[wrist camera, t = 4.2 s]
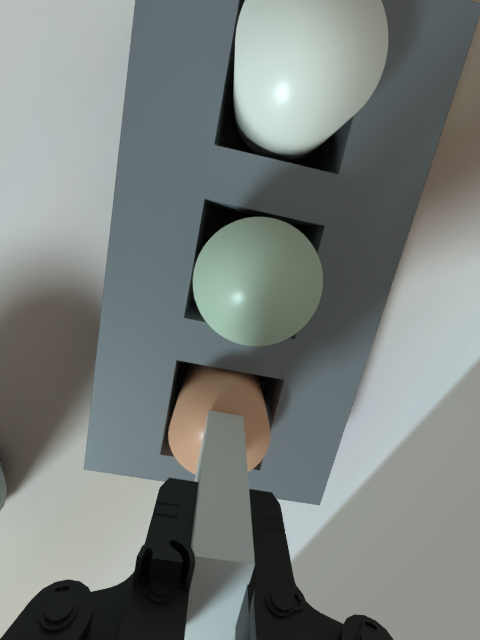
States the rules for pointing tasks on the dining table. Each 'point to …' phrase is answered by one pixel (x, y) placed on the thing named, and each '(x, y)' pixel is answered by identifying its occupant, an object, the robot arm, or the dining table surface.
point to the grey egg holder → (266, 201)
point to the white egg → (304, 70)
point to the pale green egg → (257, 281)
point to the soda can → (2, 487)
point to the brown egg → (222, 396)
